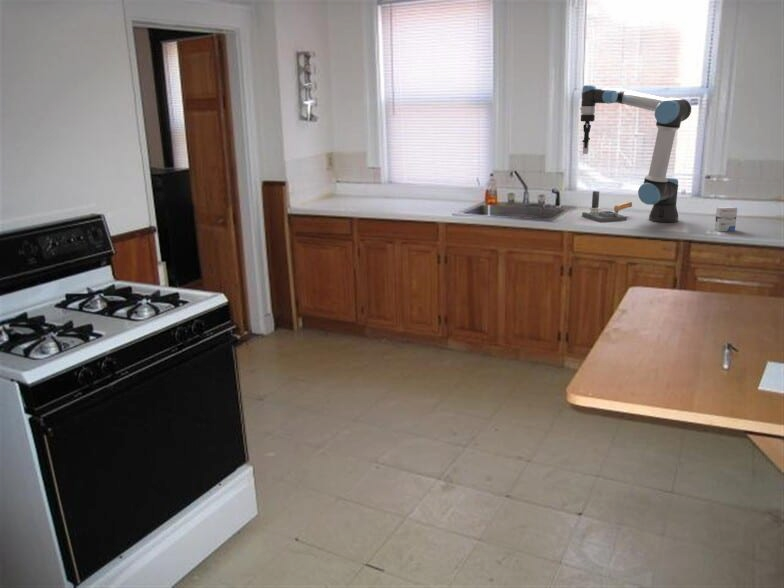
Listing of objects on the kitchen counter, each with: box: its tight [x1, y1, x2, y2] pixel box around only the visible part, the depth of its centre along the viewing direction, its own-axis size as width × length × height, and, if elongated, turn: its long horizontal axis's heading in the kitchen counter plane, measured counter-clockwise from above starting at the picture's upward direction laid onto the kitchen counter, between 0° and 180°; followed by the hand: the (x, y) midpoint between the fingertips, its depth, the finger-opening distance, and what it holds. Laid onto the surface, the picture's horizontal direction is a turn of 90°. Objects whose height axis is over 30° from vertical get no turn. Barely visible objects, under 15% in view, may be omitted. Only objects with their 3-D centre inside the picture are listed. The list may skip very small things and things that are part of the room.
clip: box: [613, 201, 633, 212], centre depth 394 cm, size 17×3×3 cm, turn 136°
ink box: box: [714, 206, 738, 232], centre depth 358 cm, size 8×5×12 cm, turn 92°
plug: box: [588, 190, 602, 213], centre depth 399 cm, size 6×6×12 cm
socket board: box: [581, 210, 627, 223], centre depth 397 cm, size 20×16×5 cm
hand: (585, 152), depth 401 cm, fingers open, 13 cm apart
